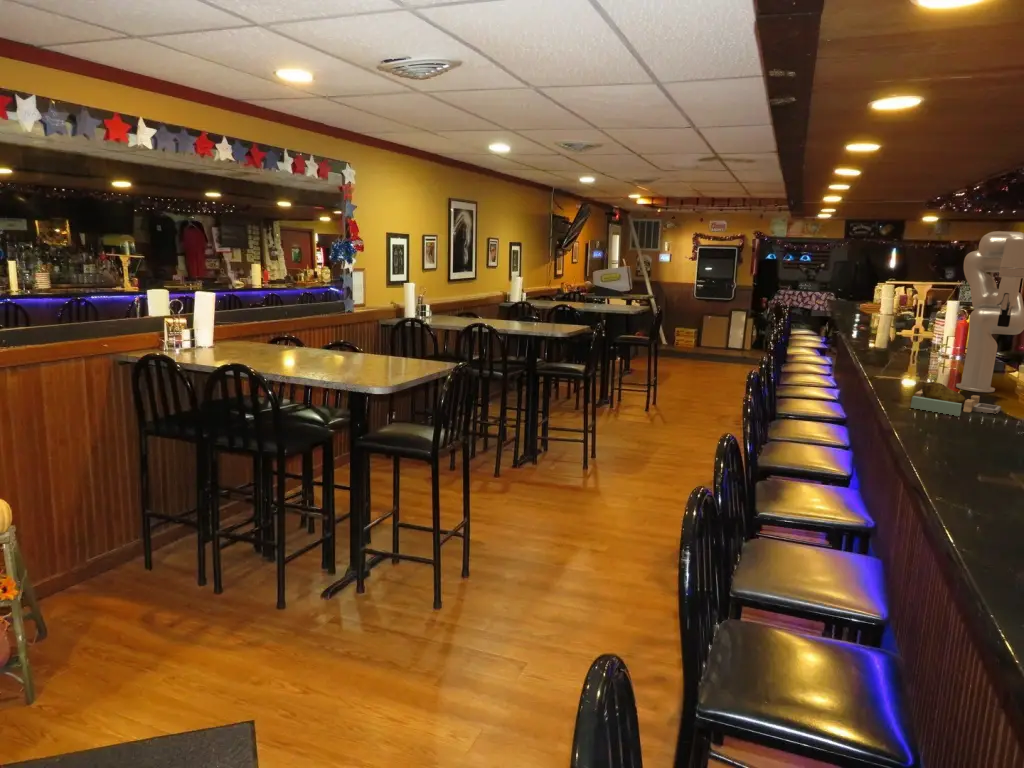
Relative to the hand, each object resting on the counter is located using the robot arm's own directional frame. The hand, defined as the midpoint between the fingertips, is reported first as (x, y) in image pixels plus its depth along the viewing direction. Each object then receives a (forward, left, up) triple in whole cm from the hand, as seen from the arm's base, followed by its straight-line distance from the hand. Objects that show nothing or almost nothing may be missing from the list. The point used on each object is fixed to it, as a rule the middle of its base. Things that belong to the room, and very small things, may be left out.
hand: (1002, 326), depth 242 cm
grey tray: (+18, +2, -27) cm, 33 cm away
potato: (+23, -10, -27) cm, 37 cm away
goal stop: (+35, -10, -27) cm, 45 cm away
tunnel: (+19, -10, -27) cm, 35 cm away
